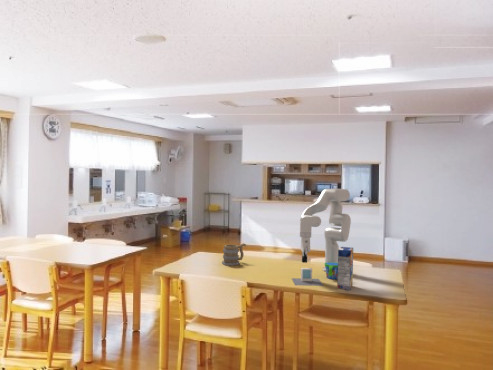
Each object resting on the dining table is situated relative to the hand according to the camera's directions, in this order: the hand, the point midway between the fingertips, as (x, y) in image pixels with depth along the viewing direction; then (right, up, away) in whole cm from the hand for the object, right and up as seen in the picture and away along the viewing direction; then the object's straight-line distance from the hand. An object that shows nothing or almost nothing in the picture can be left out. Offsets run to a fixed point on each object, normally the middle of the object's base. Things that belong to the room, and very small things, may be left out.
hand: (304, 262), depth 265 cm
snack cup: (+19, -12, +3) cm, 23 cm away
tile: (0, -11, -6) cm, 12 cm away
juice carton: (+23, -12, -18) cm, 31 cm away
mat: (0, -11, -9) cm, 15 cm away
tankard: (-48, -10, +45) cm, 66 cm away
